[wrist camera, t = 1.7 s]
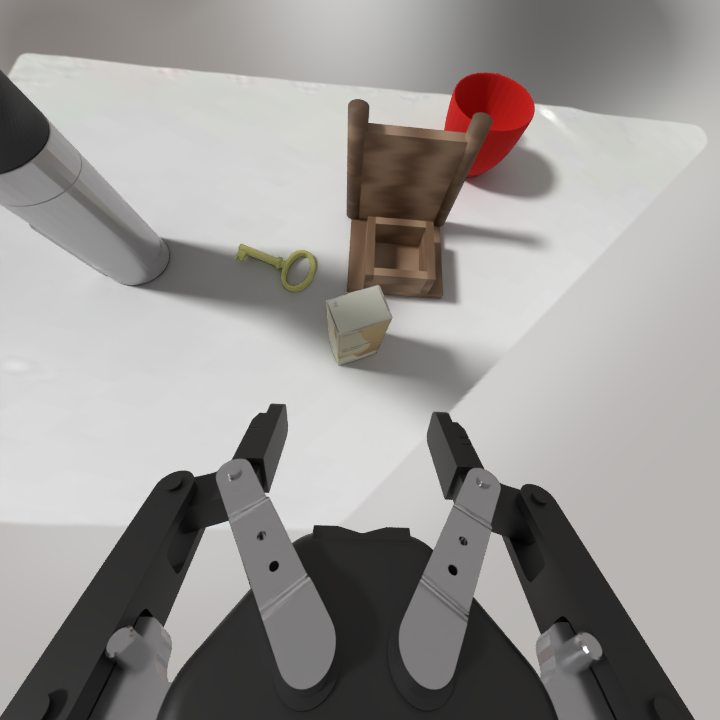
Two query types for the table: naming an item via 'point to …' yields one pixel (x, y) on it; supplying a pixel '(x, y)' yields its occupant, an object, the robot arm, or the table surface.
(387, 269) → the headboard stand
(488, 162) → the ceramic cup
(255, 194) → the table surface
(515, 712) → the robot arm
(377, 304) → the skincare box
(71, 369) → the table surface
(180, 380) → the table surface
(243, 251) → the key
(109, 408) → the table surface
